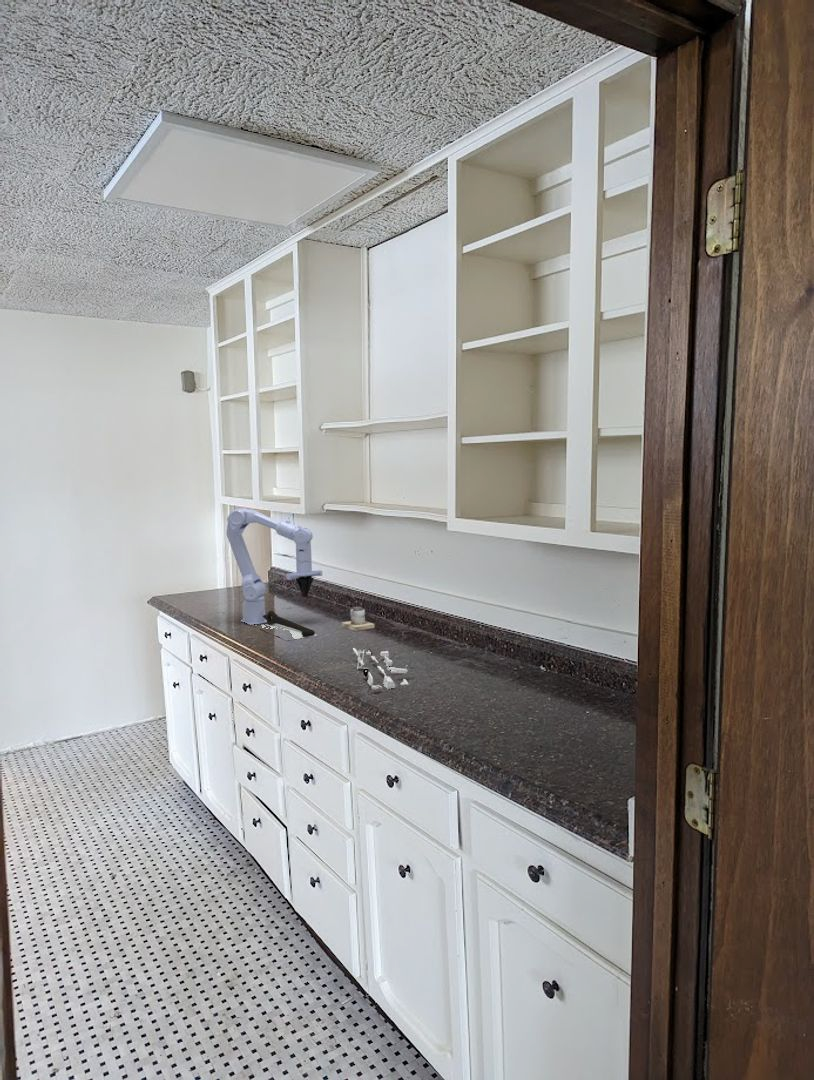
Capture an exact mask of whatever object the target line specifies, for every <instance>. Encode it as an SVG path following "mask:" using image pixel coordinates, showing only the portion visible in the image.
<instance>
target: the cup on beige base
mask: <svg viewBox="0 0 814 1080" xmlns="http://www.w3.org/2000/svg"><path fill="white" fill-rule="evenodd" d="M365 611H366V610H365V608H363V607H362V606H353V607H352V608H351V609H350V620H349V621H348V620H347V621H342V622H341V627H343V628H345V629H349V630H350V631H354V632H359V631H365V630H370V629H375V623H373V622H370V621H366V616H365V615H366V614H365Z"/></svg>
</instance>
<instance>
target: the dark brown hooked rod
mask: <svg viewBox="0 0 814 1080" xmlns="http://www.w3.org/2000/svg"><path fill="white" fill-rule="evenodd" d="M263 618H265V620H267V623H266V624H269V625H270V624H279V625H283V626H286V627H289V628H293V629H296V630H299V631H302V636H303V637H307V636H312V635H314V634H316V632H315V630H313V629H311V628H307V627H305V626H303V625H300V624H298V623H296V622H294V621H291V620H289V619H286V618H283V617H281V616H279V615H278V614H277V613H276V612H275V611H274V610H269V611H268V612H267V614H265V615H263Z"/></svg>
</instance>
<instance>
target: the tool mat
mask: <svg viewBox="0 0 814 1080" xmlns="http://www.w3.org/2000/svg"><path fill="white" fill-rule="evenodd" d="M264 624H265V625H267V626H270V627H271V628H270V629H273V628H275V627H277V626H281V627H280V628H282V627H286V626H283V625H279V624H270V625H269V624H267V623H264ZM264 624H260V625H261V626H262V628H264V627H266V626H265V625H264ZM275 625H277V626H275ZM268 628H269V627H268ZM268 628H266V629H268ZM277 628H278V627H277ZM277 628H276V629H277ZM285 629H286V630H289V631H290V633H291V634H292V637H293V638H294V639H297V640H300V638H302V639H306V638H307V637H308V638H313V637H317V636H319V635H318V634H316V633H315V634H314V635H312V636H307V637H303V636H302V631H299V630H296V629H293V628H289V627H286V628H284V629H283V630H285Z"/></svg>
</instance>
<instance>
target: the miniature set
mask: <svg viewBox="0 0 814 1080" xmlns="http://www.w3.org/2000/svg"><path fill="white" fill-rule="evenodd" d="M352 650H353V653H354V654H355V655H356V657H357V659H356V661H357V667H356V669H358V670H359V669H360V670H361V669H363V671H362V672H361V673H362V674H363V677H364V678H367V677H368V678H367V684H368V685H369V686H370V688H371V690H375V691H376V690H378V689H379V690H381V689H382V688H383V687H384V688H385V687H386V688H387V689H386V688H385V689H386V690H390V689H391V688H393V689H395V688H396V683H395V682H394V680H393V679H392V677H391V676H389V675H388V676H387V674H386V673H385V670H384V668H382V666H380V665H377V666H376V667H377V668H378V670H379V671H380V672H381V674H383V675H384V676H383V677H384V678H383V683H382V685H383V684H384V685H383V686H381V685H380V684H376V685H373V684H374V678H373V676H372V674H371V672H370V670H369V668H368V667H363V666H364V665H365V663H364V655H365V654H366V655H368V656H369V655H370V657H371V659H372V660H373V661H375V662H376V663H377V664H379V661H378V660H377V658H376V656H374V655H373V652H372V650H371V649H370V648H368V650H367V651H366V652H365V649H363V651H361V649H359V650H357V649H356V648H355V647H353V648H352ZM361 654H362V656H361ZM389 655H390V652H389V651H388V650H386V651H385V650H384V651H380V657H384V660H383V663H385V665H386V667H387V668H386V670H387V671H388V672H389V671H390V670H391V671H390V673H392V674H406V673H408V669H407V668H399V667H397V668H396V667H394V666H393V663H394V662H393V660H392V659H390V658H389ZM359 663H360V666H359ZM389 666H390V667H389ZM402 679H403V680H402V682H400V686H409V682H408V680H407V679H405V678H402ZM391 690H392V689H391Z"/></svg>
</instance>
